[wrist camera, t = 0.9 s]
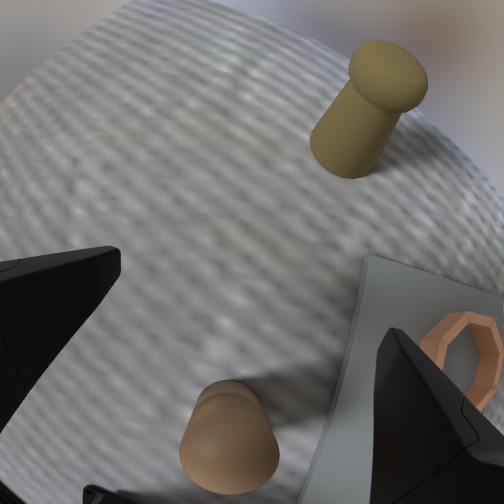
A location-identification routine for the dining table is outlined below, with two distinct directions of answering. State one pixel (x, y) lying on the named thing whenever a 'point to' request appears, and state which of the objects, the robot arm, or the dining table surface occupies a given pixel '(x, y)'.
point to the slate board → (364, 365)
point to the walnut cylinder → (229, 440)
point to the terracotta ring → (486, 342)
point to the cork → (368, 108)
